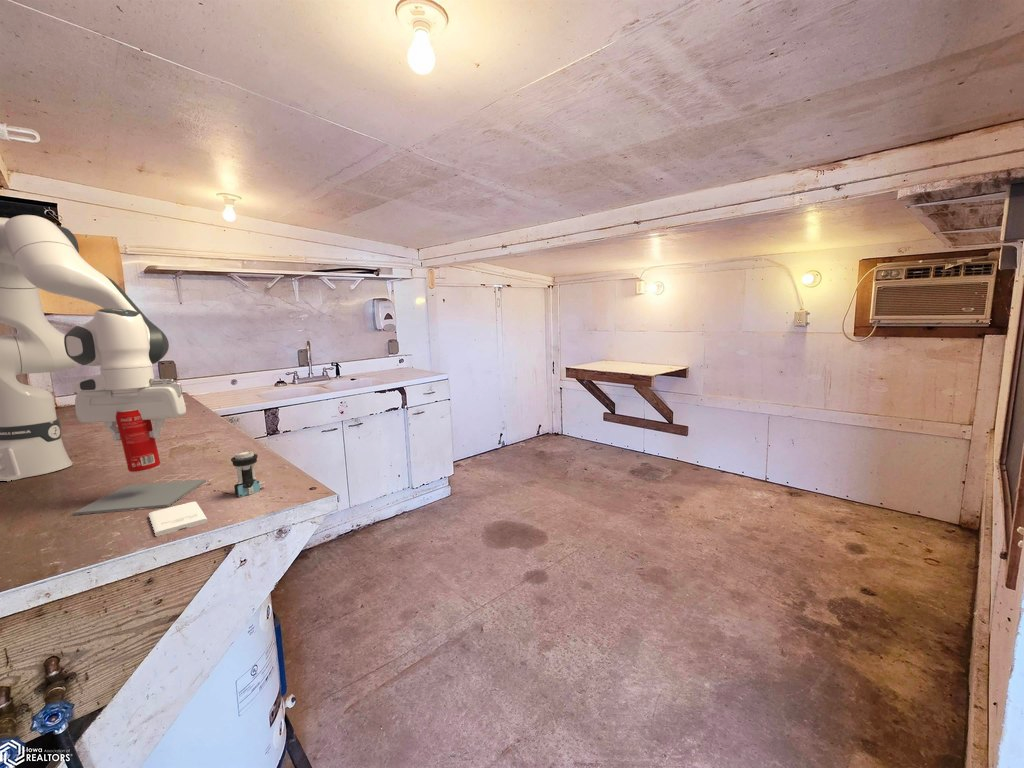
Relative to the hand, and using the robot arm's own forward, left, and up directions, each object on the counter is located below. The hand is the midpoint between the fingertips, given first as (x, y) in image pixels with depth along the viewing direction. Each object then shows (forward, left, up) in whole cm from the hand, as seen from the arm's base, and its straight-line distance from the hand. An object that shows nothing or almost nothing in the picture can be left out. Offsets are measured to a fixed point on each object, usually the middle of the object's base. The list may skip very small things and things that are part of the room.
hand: (137, 438), depth 96 cm
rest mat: (0, 0, -14) cm, 14 cm away
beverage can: (0, 0, -8) cm, 8 cm away
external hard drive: (+15, -16, -15) cm, 26 cm away
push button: (+24, -3, -14) cm, 28 cm away
